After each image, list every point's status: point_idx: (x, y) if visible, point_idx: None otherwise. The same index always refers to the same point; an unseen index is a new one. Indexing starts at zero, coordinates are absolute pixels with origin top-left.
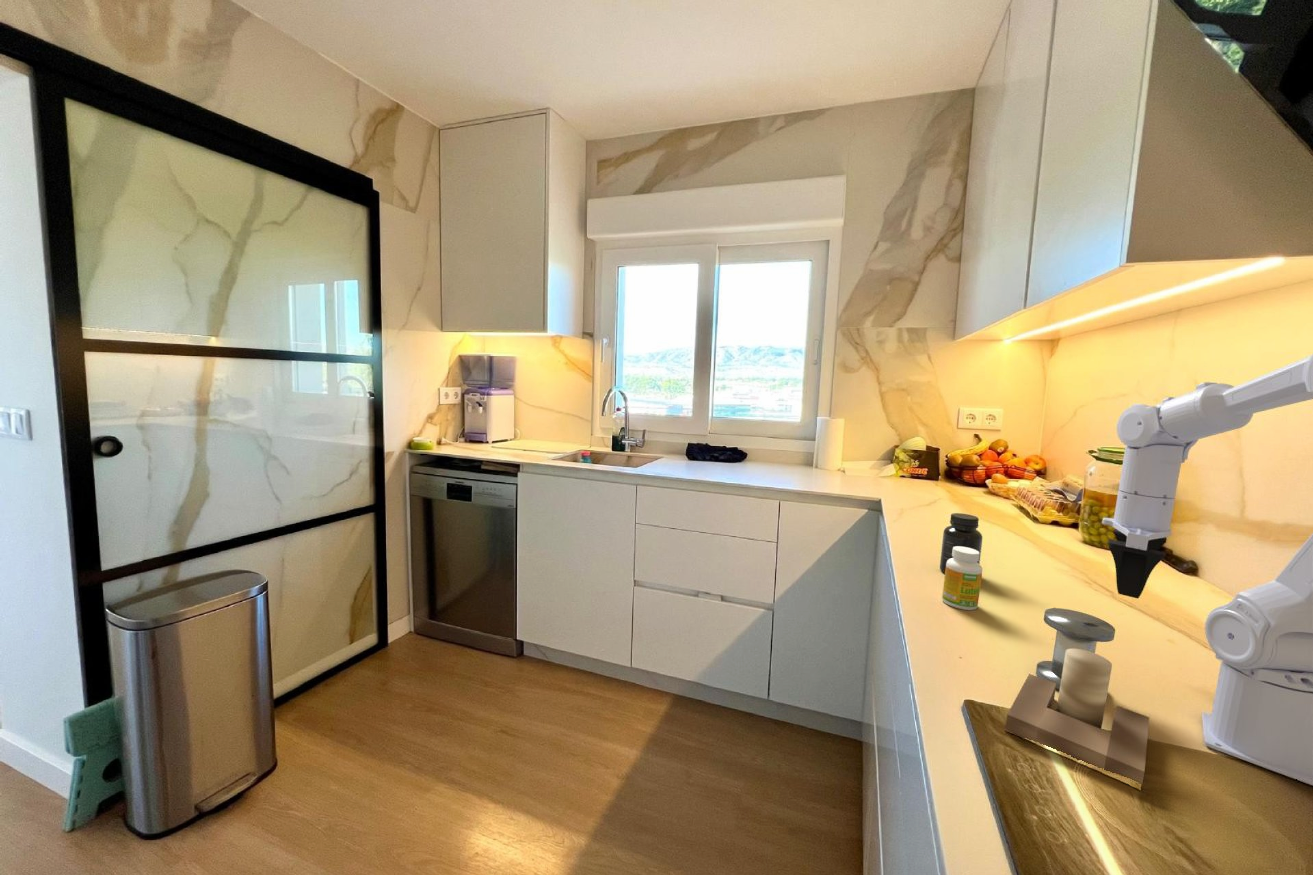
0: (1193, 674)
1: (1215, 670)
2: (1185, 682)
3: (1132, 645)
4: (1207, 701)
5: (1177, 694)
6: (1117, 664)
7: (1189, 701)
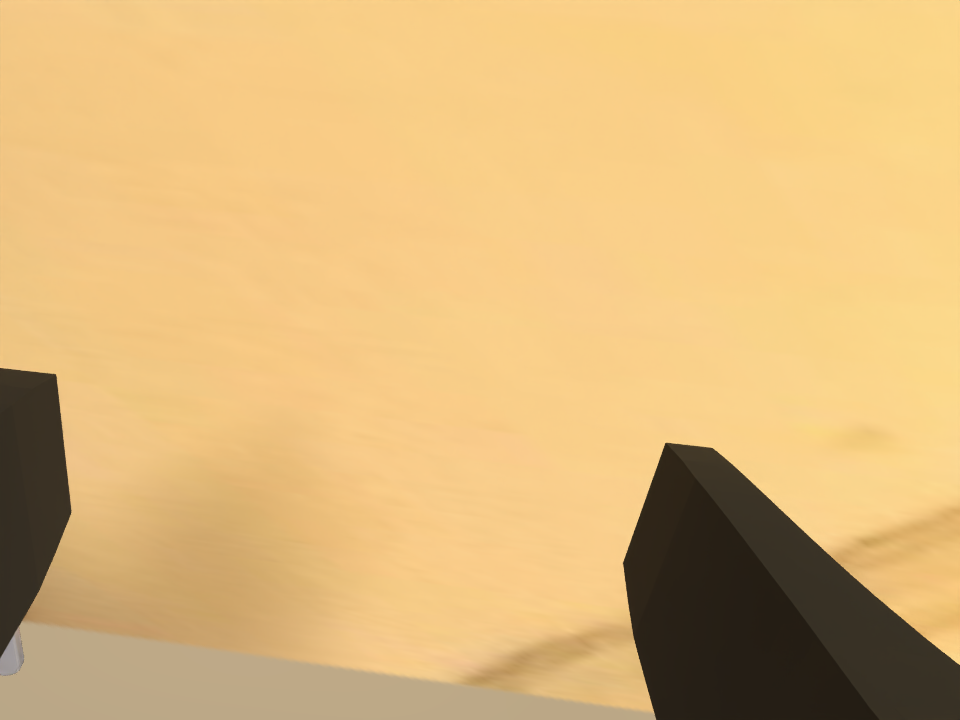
0: (465, 461)
1: (587, 532)
2: (332, 423)
3: (673, 279)
4: (184, 462)
5: (146, 378)
6: (297, 179)
7: (110, 407)
